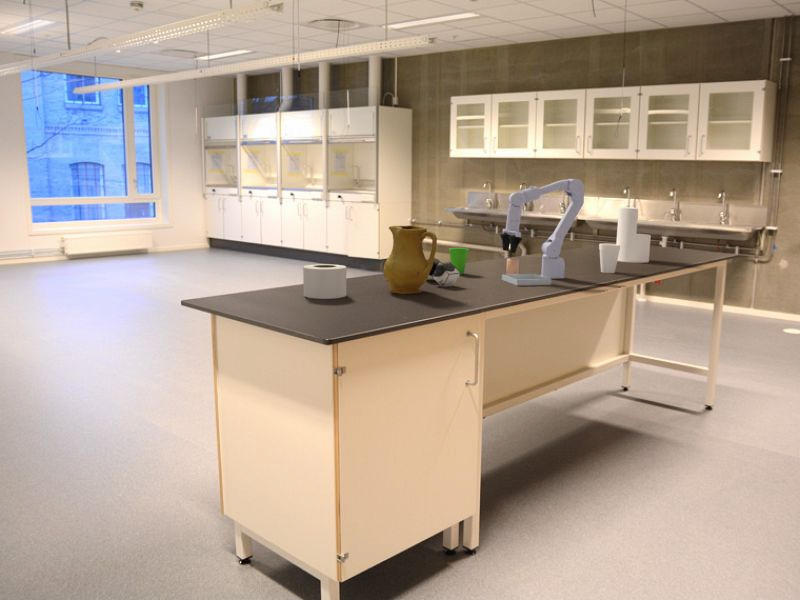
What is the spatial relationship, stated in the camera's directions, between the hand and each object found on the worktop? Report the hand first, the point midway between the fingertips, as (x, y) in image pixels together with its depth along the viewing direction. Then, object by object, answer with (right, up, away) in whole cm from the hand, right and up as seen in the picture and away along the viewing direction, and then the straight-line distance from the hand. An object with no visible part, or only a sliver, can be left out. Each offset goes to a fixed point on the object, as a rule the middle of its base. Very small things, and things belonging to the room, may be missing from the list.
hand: (509, 251), depth 320 cm
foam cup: (+50, -8, +26) cm, 57 cm away
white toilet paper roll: (-75, -20, -54) cm, 94 cm away
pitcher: (-45, -18, -42) cm, 64 cm away
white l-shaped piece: (+77, 0, +74) cm, 107 cm away
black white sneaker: (-31, -14, -19) cm, 39 cm away
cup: (-21, -9, +10) cm, 25 cm away
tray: (+5, -14, -13) cm, 20 cm away
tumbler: (+2, -11, +3) cm, 11 cm away
